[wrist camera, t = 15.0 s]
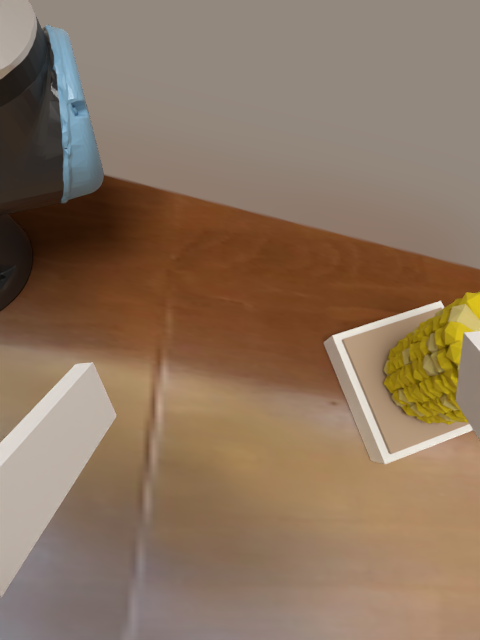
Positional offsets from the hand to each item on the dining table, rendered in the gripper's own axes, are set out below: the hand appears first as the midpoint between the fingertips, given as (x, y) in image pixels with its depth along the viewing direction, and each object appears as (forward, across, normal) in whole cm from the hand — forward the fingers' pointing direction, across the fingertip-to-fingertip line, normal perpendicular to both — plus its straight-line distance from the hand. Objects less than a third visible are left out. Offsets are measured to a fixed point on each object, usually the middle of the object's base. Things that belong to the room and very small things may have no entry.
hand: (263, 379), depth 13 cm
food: (+22, +12, -18) cm, 31 cm away
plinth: (+25, +11, -20) cm, 34 cm away
